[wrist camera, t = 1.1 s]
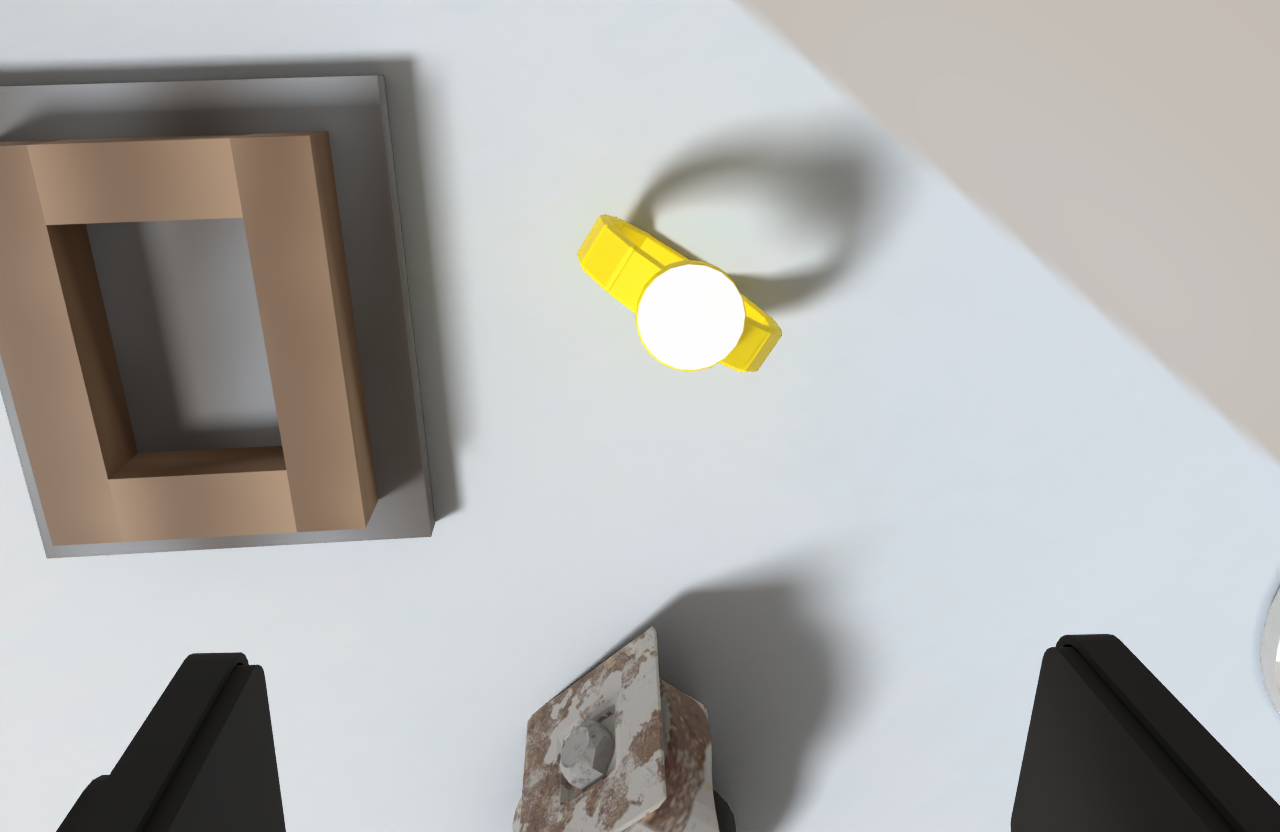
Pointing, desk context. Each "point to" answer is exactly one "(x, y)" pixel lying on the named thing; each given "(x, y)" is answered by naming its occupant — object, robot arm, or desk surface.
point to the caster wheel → (621, 754)
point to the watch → (677, 301)
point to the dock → (208, 315)
